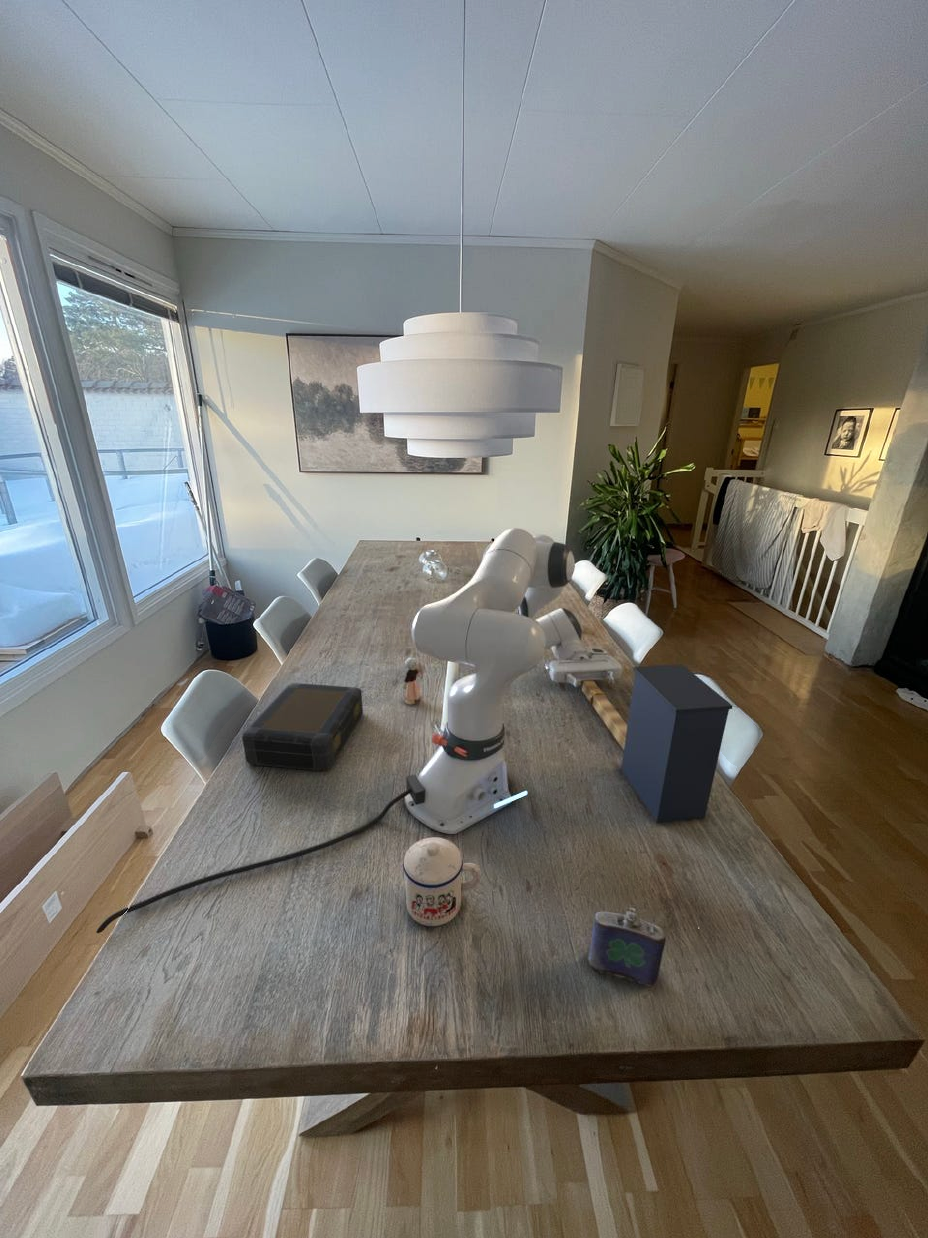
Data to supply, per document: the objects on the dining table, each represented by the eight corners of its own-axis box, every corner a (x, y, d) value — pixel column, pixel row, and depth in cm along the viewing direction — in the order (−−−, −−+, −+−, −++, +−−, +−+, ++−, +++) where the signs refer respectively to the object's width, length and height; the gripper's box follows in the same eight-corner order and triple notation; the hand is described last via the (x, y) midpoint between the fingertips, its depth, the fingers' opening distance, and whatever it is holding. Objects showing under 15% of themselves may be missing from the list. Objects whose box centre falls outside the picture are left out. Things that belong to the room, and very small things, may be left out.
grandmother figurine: (415, 707, 136) (414, 664, 132) (401, 706, 137) (399, 663, 133) (423, 693, 143) (422, 652, 139) (410, 692, 144) (408, 651, 140)
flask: (587, 969, 72) (595, 913, 68) (589, 949, 74) (596, 894, 70) (657, 990, 69) (669, 933, 65) (656, 969, 72) (668, 913, 68)
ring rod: (579, 692, 144) (580, 679, 142) (594, 691, 145) (595, 678, 143) (623, 758, 118) (626, 742, 116) (641, 756, 118) (644, 740, 117)
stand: (619, 769, 113) (633, 667, 104) (664, 765, 114) (682, 664, 105) (655, 824, 98) (676, 709, 88) (707, 818, 99) (732, 705, 90)
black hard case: (291, 706, 136) (287, 680, 134) (365, 712, 134) (363, 686, 131) (240, 765, 113) (235, 735, 110) (329, 773, 111) (326, 743, 108)
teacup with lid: (404, 932, 77) (402, 873, 72) (404, 881, 85) (402, 825, 81) (484, 924, 78) (486, 866, 74) (476, 875, 86) (478, 820, 82)
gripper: (543, 653, 148) (558, 675, 136) (610, 649, 151) (631, 670, 138) (542, 672, 151) (556, 696, 138) (608, 668, 153) (628, 691, 141)
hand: (595, 683), depth 138 cm, fingers open, 8 cm apart
